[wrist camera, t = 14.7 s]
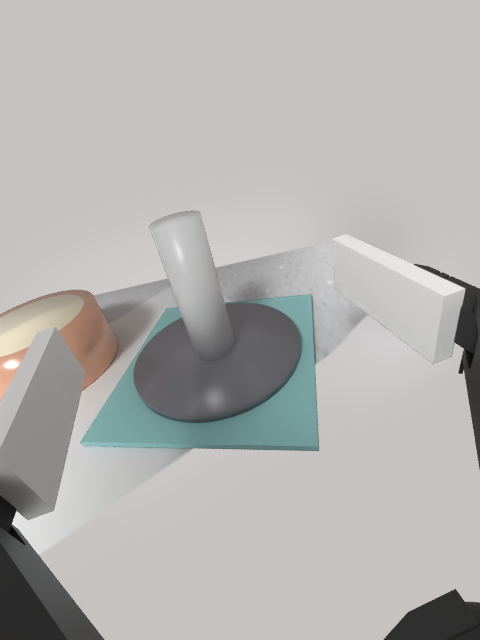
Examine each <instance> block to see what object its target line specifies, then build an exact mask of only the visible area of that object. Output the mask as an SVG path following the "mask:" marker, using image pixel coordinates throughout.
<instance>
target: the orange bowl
mask: <svg viewBox="0 0 480 640" xmlns="http://www.w3.org/2000/svg"><path fill="white" fill-rule="evenodd" d="M52 327H56V328H57V330H58V331H59V333H60V334H61V336H62V337H63V339H64V341H65V342H66V344H67V345H68V347H69V348H70V350H71V351H72V353H73V354H74V356H75V357H76V359H77V361H78V362H79V364H80V365H81V367H82V368H83V370H84V371H85V378H84V382H83V387H82V390H83V389H85V388H86V387H88V386H89V385H90V384H91V383H93V382H94V381H95V380H96V379H97V378H98V377H100V376H101V375H102V374H103V372H104V371H105V370H106V369H107V368H108V367H109V365H110V364H111V363H112V361H113V360H114V358H115V356H116V353H117V350H118V341H117V339H116V337H115V336H114V334H113V332H112V330H111V328H110V326H109V324H108V322H107V321H106V319H105V317H104V315H103V313H102V311H101V309H100V307H99V306H98V304H97V302H96V300H95V298H94V296H93V294H91V293H90V292H88V291H84V290H68V291H61V292H57V293H53V294H49V295H46V296H42V297H39V298H36V299H34V300H31V301H28V302H26V303H23V304H21V305H19V306H16V307H14V308H12V309H10V310H8V311H6V312H4V313H2V314H0V401H1V399H2V397H3V396H4V394H5V392H6V390H7V388H8V386H9V384H10V382H11V380H12V379H13V377H14V375H15V373H16V371H17V369H18V367H19V365H20V364H21V362H22V360H23V358H24V356H25V354H26V352H27V350H28V348H29V347H30V345H31V343H32V341H33V339H34V337H35V335H36V333H37V332H39V331H42V330H45V329H49V328H52Z"/></svg>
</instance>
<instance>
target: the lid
mask: <svg viewBox="0 0 480 640" xmlns="http://www.w3.org/2000/svg"><path fill="white" fill-rule="evenodd" d="M149 228H150V231H151V234H152V236H153V239H154V242H155V245H156V247H157V250H158V253H159V255H160V258H161V261H162V264H163V266H164V269H165V272H166V274H167V277H168V280H169V283H170V285H171V288H172V291H173V293H174V296H175V299H176V302H177V304H178V307H179V310H180V312H181V315H182V317H181V318H179V319H177V320H176V321H174V322H172V323H171V324H169V325H168V326H166V327H165V328H163V329H162V330H161V331H159V332H158V333H157V334H156V335H155V336H154V337H153V338H152V339H151V340H150V341H149V342H148V343H147V344H146V345H145V347H144V348H143V350H142V351H141V353H140V354H139V356H138V358H137V361H136V363H135V367H134V372H133V379H134V384H135V387H136V389H137V391H138V393H139V395H140V397H141V399H142V401H143V402H144V403H145V404H146V406H147V407H148V408H150V409H151V410H152V411H153V412H155V413H156V414H158V415H160V416H162V417H165V418H167V419H170V420H174V421H179V422H188V423H204V422H213V421H219V420H224V419H227V418H231V417H235V416H237V415H240V414H242V413H245V412H248V411H250V410H251V409H253V408H255V407H257V406H259V405H261V404H262V403H264V402H266V401H267V400H269V399H270V398H271V397H273V396H274V395H275V394H276V393H277V392H279V391H280V390H281V389H282V388H283V387H284V386H285V384H286V383H287V382H288V381H289V380H290V378H291V377H292V375H293V374H294V372H295V370H296V368H297V366H298V363H299V360H300V355H301V345H300V336H299V332H298V329H297V327H296V325H295V324H294V322H293V321H292V320H291V319H290V318H289V317H288V316H287V315H286V314H284V313H283V312H281V311H279V310H278V309H275V308H273V307H270V306H266V305H263V304H257V303H245V302H238V303H227V304H225V302H224V299H223V295H222V291H221V287H220V284H219V280H218V276H217V273H216V269H215V266H214V262H213V258H212V255H211V251H210V247H209V243H208V240H207V236H206V232H205V229H204V225H203V222H202V218H201V214H200V212H199V211H185V212H180V213H175V214H172V215H168V216H165V217H163V218H161V219H159V220H156V221H154V222H153V223H151V224H150V225H149Z"/></svg>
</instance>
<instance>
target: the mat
mask: <svg viewBox="0 0 480 640" xmlns="http://www.w3.org/2000/svg"><path fill="white" fill-rule="evenodd" d="M238 302H245V303H257V304H263V305H266V306H270V307H273V308H275V309H278V310H279V311H281V312H283V313H284V314H286V315H287V316H288V317H289V318H290V319H291V320H292V321H293V322H294V324H295V325H296V327H297V329H298V332H299V336H300V345H301V355H300V360H299V363H298V366H297V368H296V370H295V372H294V374H293V375H292V377H291V378H290V380H289V381H288V382H287V383H286V384H285V386H284V387H283V388H282V389H281V390H280V391H279V392H277V393H276V394H275V395H274V396H273V397H271V398H270V399H269V400H267V401H266V402H264V403H262V404H261V405H259V406H257V407H255V408H253V409H251V410H250V411H248V412H245V413H242V414H240V415H237V416H235V417H231V418H227V419H224V420H219V421H213V422H204V423H188V422H179V421H174V420H170V419H167V418H165V417H162V416H160V415H158V414H156V413H155V412H153V411H152V410H151V409H150V408H148V407H147V406H146V404H145V403H144V402H143V401H142V399H141V397H140V395H139V393H138V391H137V389H136V387H135V384H134V379H133V372H134V367H135V363H136V361H137V358H138V356H139V354H140V353H141V351H142V350H143V348H144V347H145V345H146V344H147V343H148V342H149V341H150V340H151V339H152V338H153V337H154V336H155V335H156V334H157V333H158V332H159V331H161V330H162V329H163V328H165V327H166V326H168V325H169V324H171V323H172V322H174V321H176V320H177V319H179V318H181V317H182V315H181V312H180V310H179V307H177V308H167V309H166V310H165V312H164V313H163V315H162V316H161V318H160V320H159V321H158V323H157V324H156V326H155V327H154V329H153V330H152V332H151V333H150V335H149V337H148V338H147V340H146V341H145V343H144V344H143V346H142V347H141V349H140V351H139V352H138V354H137V355H136V357H135V358H134V360H133V361H132V363H131V364H130V366H129V368H128V369H127V371H126V372H125V374H124V375H123V377H122V378H121V380H120V382H119V383H118V385H117V386H116V388H115V389H114V391H113V392H112V394H111V395H110V397H109V399H108V400H107V402H106V403H105V405H104V406H103V408H102V409H101V411H100V413H99V414H98V416H97V417H96V419H95V420H94V422H93V423H92V425H91V426H90V428H89V430H88V431H87V433H86V434H85V436H84V437H83V439H82V440H81V444H82V445H83V446H114V447H160V448H208V449H210V448H211V449H253V450H299V451H300V450H301V451H319V440H318V419H317V399H316V377H315V356H314V335H313V314H312V296H311V294H307V295H297V296H287V297H277V298H267V299H257V300H247V301H237V302H227V303H238ZM227 303H225V304H227Z"/></svg>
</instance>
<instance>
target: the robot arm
mask: <svg viewBox="0 0 480 640" xmlns="http://www.w3.org/2000/svg"><path fill="white" fill-rule="evenodd" d="M332 252H333V271H334V289H335V290H337V291H338V292H339V293H341V294H342V295H343V296H345V297H346V298H347V299H348V300H350V301H351V302H352V303H354V304H355V305H356V306H358V307H359V308H360V309H362V310H363V311H364V312H366V313H367V314H368V315H369V316H371V317H372V318H373V319H375V320H376V321H377V322H379V323H380V324H381V325H383V326H384V327H386V328H387V329H388V330H389V331H391V332H392V333H393V334H394V335H396V336H397V337H398V338H400V339H401V340H402V341H404V342H405V343H406V344H408V345H409V346H410V347H412V348H413V349H414V350H416V351H417V352H418V353H419V354H421V355H422V356H423V357H425V358H426V359H427V360H429V361H430V362H431V363H433V364H434V363H436V362H439V361H442V360H444V359H447V358H449V357H452V353H453V348H454V343H456V344H458V345H459V346H461V347H462V348H464V351H463V355H462V360H461V364H460V369H459V373H460V374H462V373H463V370H464V372H465V379H466V384H467V391H468V398H469V404H470V410H471V417H472V423H473V429H474V436H475V442H476V448H477V455H478V461H479V467H480V289H479V288H477V287H475V286H472V285H470V284H468V283H465V282H463V281H461V280H458V279H456V278H454V277H449V275H447V274H445V273H440V271H438V270H436V269H433V268H431V267H428V266H423V265H418V264H410V263H408V262H406V261H404V260H402V259H399V258H397V257H395V256H393V255H391V254H389V253H386V252H384V251H382V250H380V249H378V248H375V247H373V246H371V245H369V244H367V243H364V242H362V241H360V240H358V239H356V238H353V237H351V236H349V235H346V234H345V235H342V236H339V237H336V238H333V239H332ZM84 378H85V371H84V370H83V368H82V367H81V365H80V364H79V362H78V361H77V359H76V357H75V356H74V354H73V353H72V351H71V350H70V348H69V347H68V345H67V344H66V342H65V341H64V339H63V337H62V336H61V334H60V333H59V331H58V330H57V328H56V327H52V328H49V329H45V330H42V331H39V332H37V333H36V335H35V337H34V339H33V341H32V343H31V345H30V347H29V348H28V350H27V352H26V354H25V356H24V358H23V360H22V362H21V364H20V365H19V367H18V369H17V371H16V373H15V375H14V377H13V379H12V380H11V382H10V384H9V386H8V388H7V390H6V392H5V394H4V396H3V397H2V399H1V401H0V640H104V639H103V637H102V636H101V635H100V634H99V633H98V631H97V630H96V628H95V627H94V626H93V625H92V623H91V622H90V621H89V620H88V618H87V617H86V616H85V614H84V613H83V612H82V610H81V609H80V608H79V607H78V605H77V604H76V603H75V601H74V600H73V599H72V598H71V596H70V595H69V594H68V592H67V591H66V590H65V589H64V588H63V586H62V585H61V584H60V582H59V581H58V580H57V579H56V577H55V576H54V575H53V573H52V572H51V571H50V569H49V568H48V567H47V566H46V564H45V563H44V562H43V561H42V559H41V558H40V557H39V555H38V554H37V553H36V551H35V550H34V549H33V548H32V546H31V545H30V544H29V542H28V541H27V540H26V539H25V537H24V536H23V535H22V534H21V532H20V531H19V530H18V529H17V528H16V527H15V526H13V525H12V522H13V519H14V516H15V513H16V511H17V512H19V513H20V514H21V515H22V516H23V517H25V518H26V519H27V520H30V519H33V518H35V517H38V516H40V515H43V514H45V513H48V512H51V511H53V510H54V508H55V504H56V499H57V495H58V491H59V486H60V482H61V478H62V473H63V469H64V465H65V460H66V456H67V452H68V447H69V443H70V439H71V434H72V430H73V426H74V421H75V417H76V413H77V408H78V404H79V400H80V395H81V391H82V387H83V382H84ZM384 640H480V603H478V602H464V600H463V599H462V597H461V596H460V595H459V593H458V592H457V590H456V589H455V590H453V591H450V592H448V593H446V594H444V595H442V596H440V597H438V598H436V599H434V600H432V601H430V602H428V603H426V604H424V605H422V606H420V607H418V608H416V609H414V610H412V611H410V612H408V613H407V614H406V615H405V616H404V617H403V618H402V620H401V621H400V622H399V623H398V624H397V625H396V627H394V629H393V630H392V631H391V632H390V633H389V634H388V635H387V636H386V638H385V639H384Z"/></svg>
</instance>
